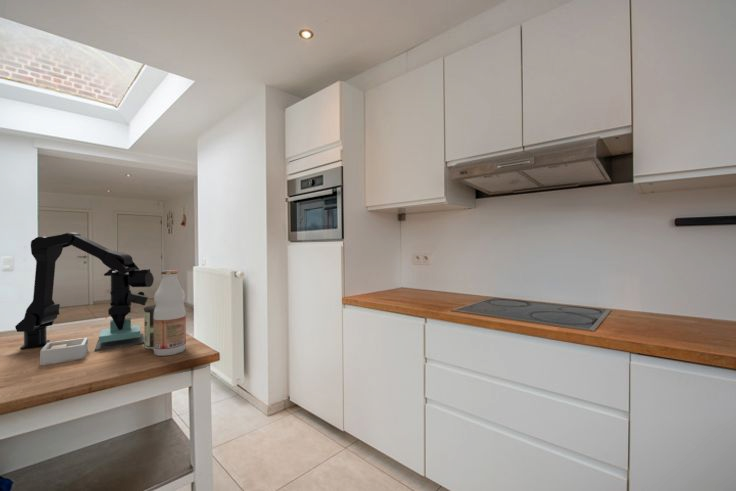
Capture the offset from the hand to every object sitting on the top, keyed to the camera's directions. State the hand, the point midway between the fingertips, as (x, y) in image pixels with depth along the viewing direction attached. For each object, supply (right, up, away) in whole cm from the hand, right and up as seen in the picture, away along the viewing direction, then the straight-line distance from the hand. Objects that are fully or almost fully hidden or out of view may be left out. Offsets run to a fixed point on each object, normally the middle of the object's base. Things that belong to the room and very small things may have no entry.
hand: (120, 328), depth 119 cm
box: (-6, -5, -16) cm, 17 cm away
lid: (0, -3, 0) cm, 3 cm away
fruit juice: (+25, -5, -10) cm, 28 cm away
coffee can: (+17, -5, -2) cm, 18 cm away
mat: (0, -5, 0) cm, 5 cm away
